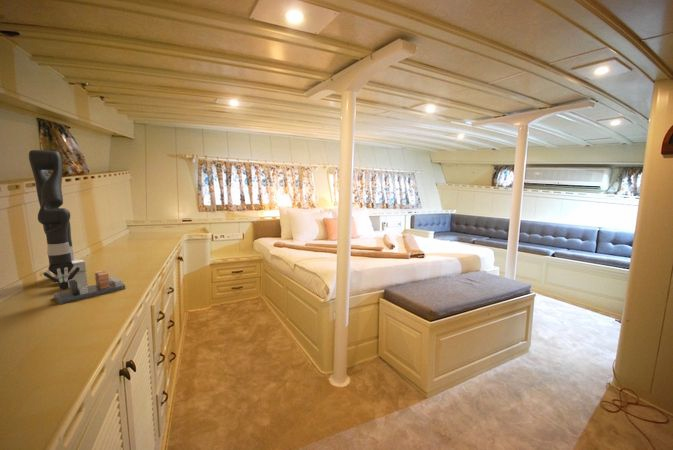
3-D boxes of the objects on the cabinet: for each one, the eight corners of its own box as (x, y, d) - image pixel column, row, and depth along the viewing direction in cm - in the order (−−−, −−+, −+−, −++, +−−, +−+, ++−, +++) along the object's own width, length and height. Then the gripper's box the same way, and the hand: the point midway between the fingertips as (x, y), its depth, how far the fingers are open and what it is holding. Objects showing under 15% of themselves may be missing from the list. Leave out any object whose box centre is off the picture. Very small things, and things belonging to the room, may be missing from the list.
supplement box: (69, 288, 152) (66, 264, 150) (66, 285, 157) (62, 261, 155) (88, 284, 158) (85, 261, 156) (84, 281, 163) (81, 258, 161)
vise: (53, 297, 140) (52, 288, 140) (117, 283, 159) (116, 275, 159) (59, 304, 133) (57, 294, 132) (125, 288, 152) (124, 280, 151)
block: (109, 286, 149) (108, 273, 148) (100, 288, 146) (99, 275, 145) (104, 283, 154) (103, 270, 153) (96, 285, 151) (94, 271, 150)
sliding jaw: (68, 290, 144) (67, 279, 143) (82, 287, 148) (80, 276, 147) (74, 296, 137) (73, 284, 136) (88, 293, 140) (87, 281, 140)
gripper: (40, 256, 128) (45, 295, 131) (80, 251, 138) (84, 287, 141) (37, 254, 133) (43, 291, 136) (76, 249, 143) (80, 284, 146)
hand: (64, 289), depth 138 cm, fingers closed
